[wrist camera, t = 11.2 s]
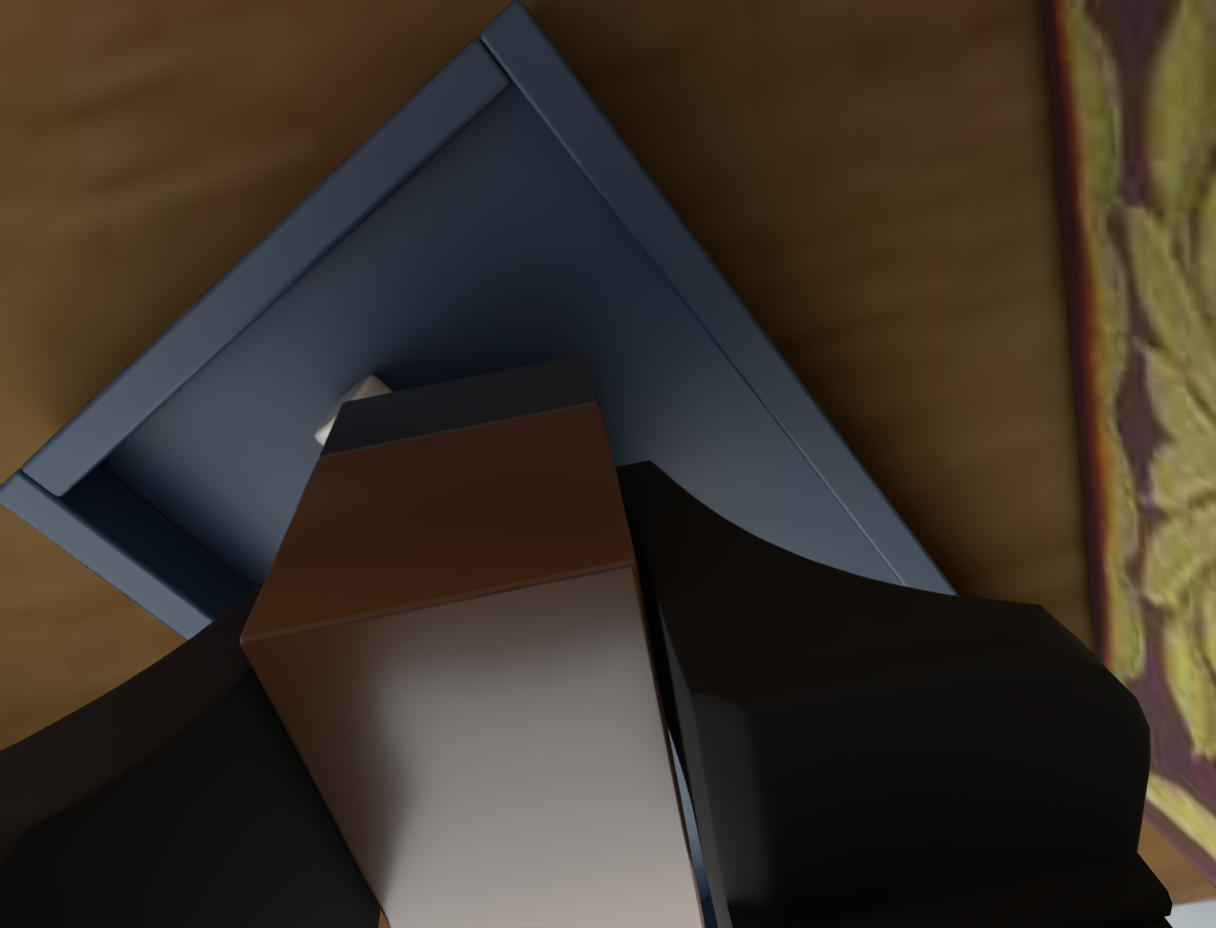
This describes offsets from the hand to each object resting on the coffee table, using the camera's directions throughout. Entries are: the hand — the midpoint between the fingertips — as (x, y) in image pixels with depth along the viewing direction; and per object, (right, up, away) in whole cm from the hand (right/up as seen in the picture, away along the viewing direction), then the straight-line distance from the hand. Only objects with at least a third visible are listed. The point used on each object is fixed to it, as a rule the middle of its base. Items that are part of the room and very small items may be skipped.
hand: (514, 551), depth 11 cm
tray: (+1, -1, +3) cm, 3 cm away
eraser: (0, 0, 0) cm, 1 cm away
